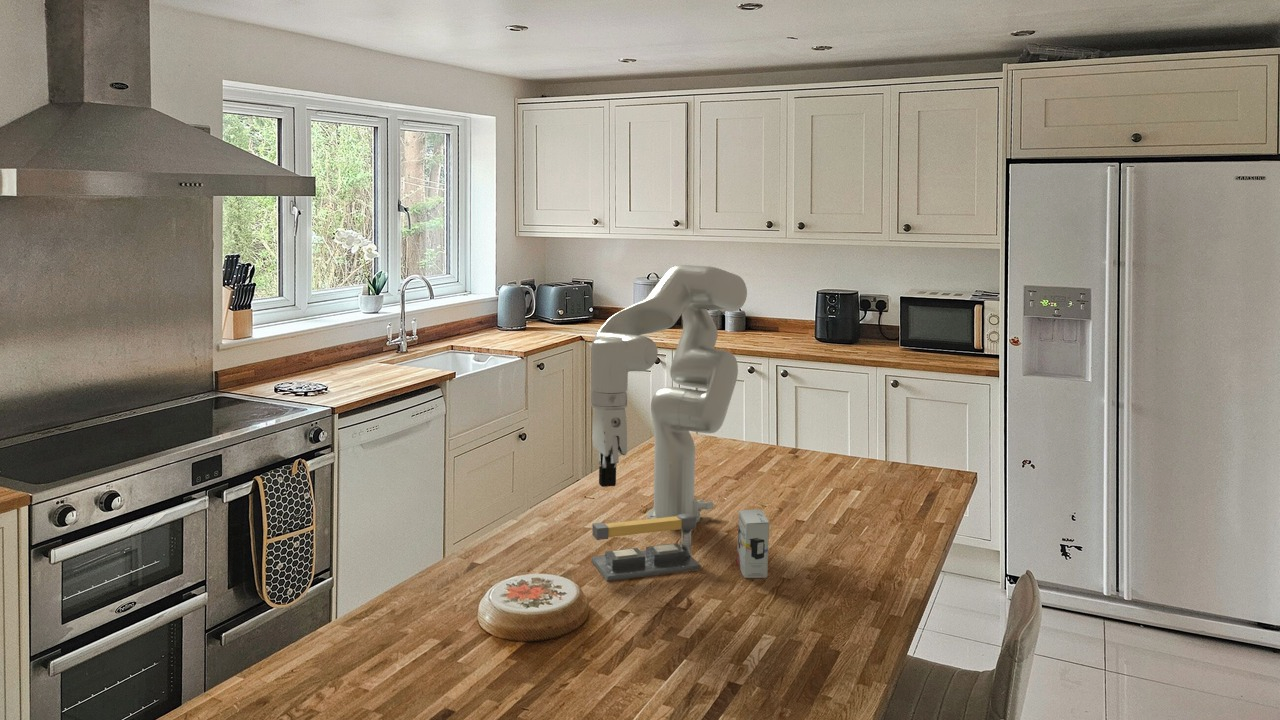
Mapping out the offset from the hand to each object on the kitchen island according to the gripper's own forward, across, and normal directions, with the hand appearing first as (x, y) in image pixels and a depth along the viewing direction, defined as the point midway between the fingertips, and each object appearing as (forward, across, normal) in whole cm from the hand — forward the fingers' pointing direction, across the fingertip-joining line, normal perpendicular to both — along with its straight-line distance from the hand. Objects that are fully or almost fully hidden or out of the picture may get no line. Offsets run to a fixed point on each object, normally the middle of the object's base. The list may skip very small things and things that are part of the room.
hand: (607, 485), depth 202 cm
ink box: (+16, -15, -27) cm, 35 cm away
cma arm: (+9, -6, -7) cm, 12 cm away
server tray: (+16, -6, -7) cm, 18 cm away
